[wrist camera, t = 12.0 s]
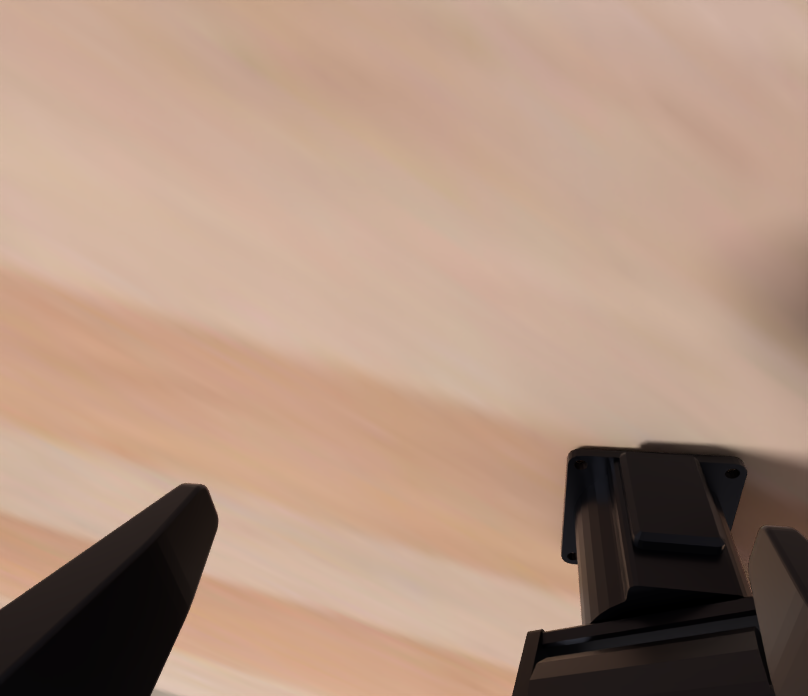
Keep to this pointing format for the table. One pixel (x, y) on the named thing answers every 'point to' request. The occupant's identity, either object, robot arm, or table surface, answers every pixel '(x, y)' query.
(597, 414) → the table surface
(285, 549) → the table surface
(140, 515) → the robot arm
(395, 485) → the table surface
